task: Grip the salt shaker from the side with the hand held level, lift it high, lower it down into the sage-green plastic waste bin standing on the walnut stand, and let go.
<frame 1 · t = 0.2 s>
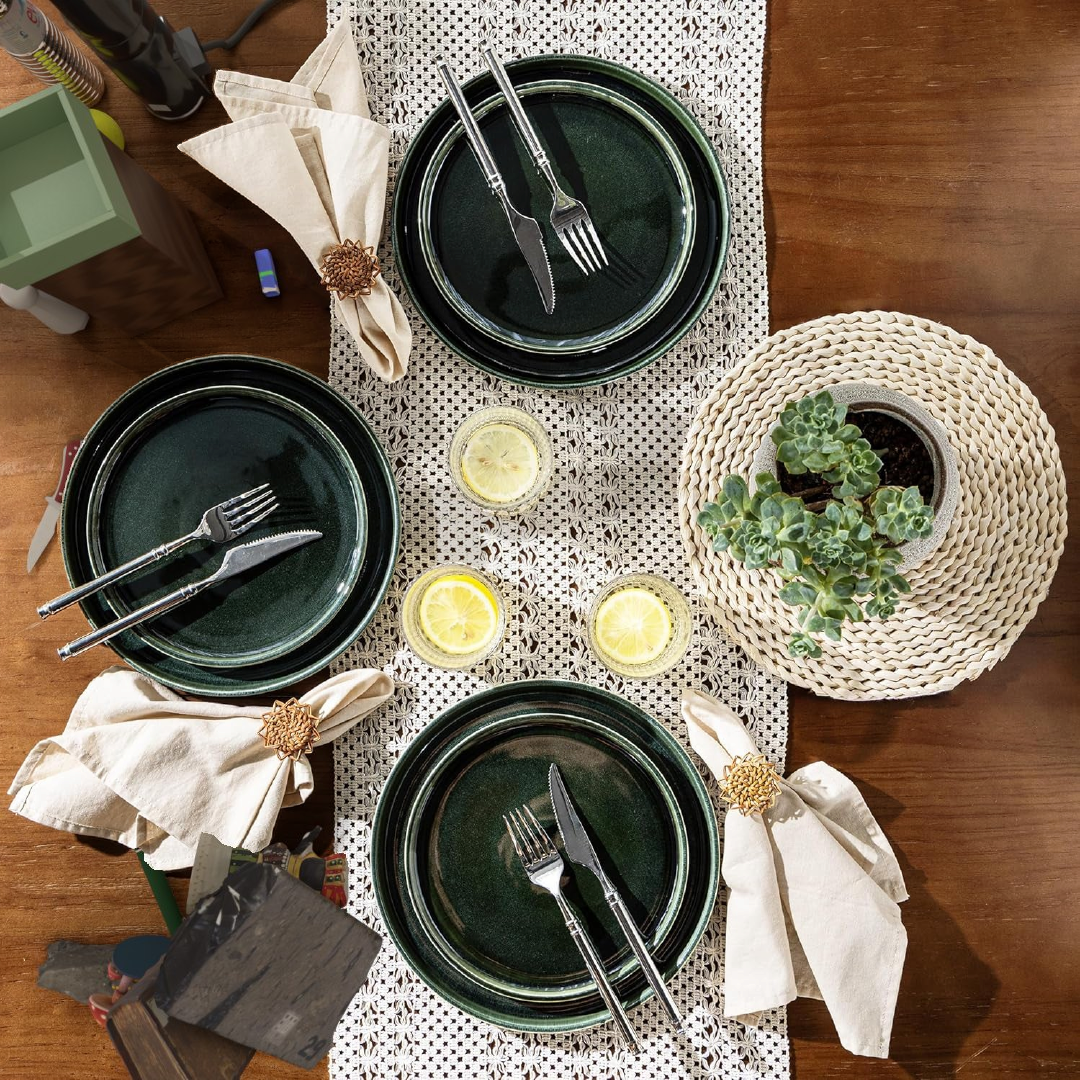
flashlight: (140, 840, 113), point 1 cm above the table, touching figurine 2
eraser: (258, 275, 113), point 1 cm above the table
bin stand: (161, 271, 114), on the table
water bottle: (84, 88, 115), on the table
open bin: (53, 199, 90), resting on bin stand
stone slab: (206, 914, 91), point 22 cm above the table, touching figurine
ornament: (110, 151, 115), on the table
knife: (41, 501, 114), point 1 cm above the table
book: (247, 954, 113), on the table
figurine: (192, 877, 106), point 8 cm above the table, touching stone slab
figurine 2: (151, 954, 106), point 8 cm above the table, touching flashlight, stone
stone: (112, 980, 115), on the table, touching figurine 2
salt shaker: (76, 318, 115), on the table
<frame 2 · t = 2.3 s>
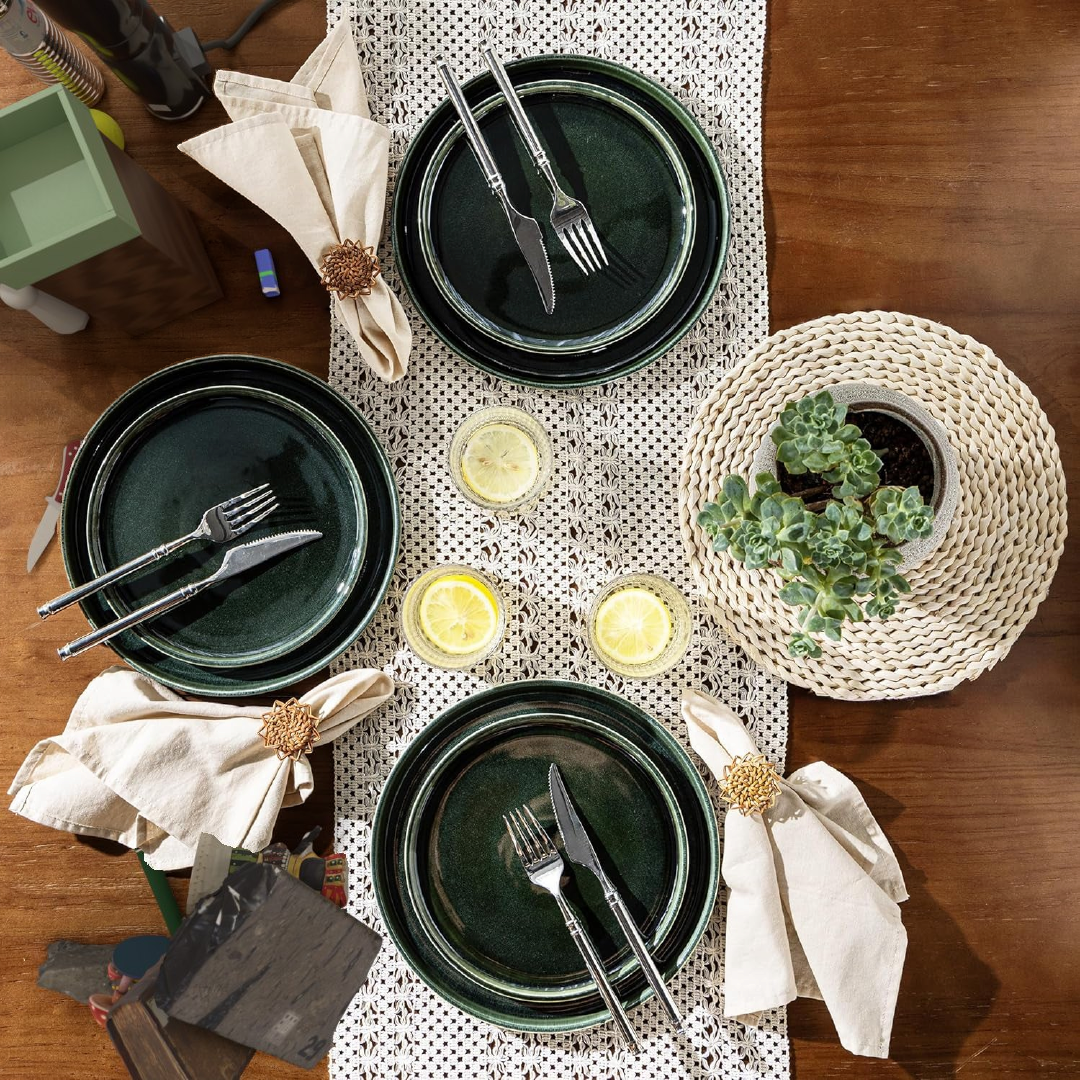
nothing on the table moved.
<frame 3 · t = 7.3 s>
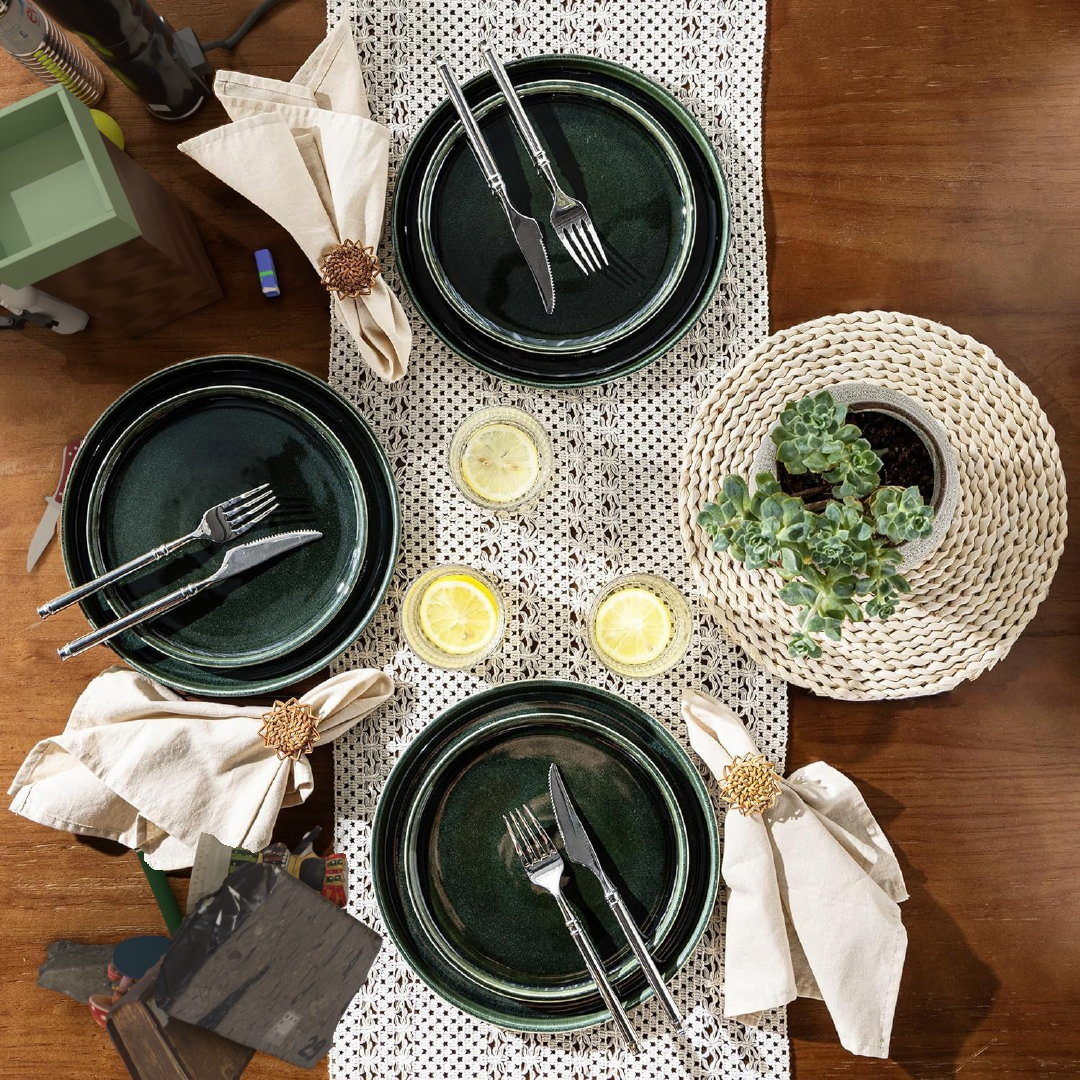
hand: (59, 310, 107), 8 cm above the table, tool horizontal, fingers closed on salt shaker, 3 cm apart
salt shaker: (76, 318, 115), on the table, touching gripper
everything else where it was.
when the fingers open (32 cm above the table, at t = 17.9 s): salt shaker stays where it is, resting on open bin.
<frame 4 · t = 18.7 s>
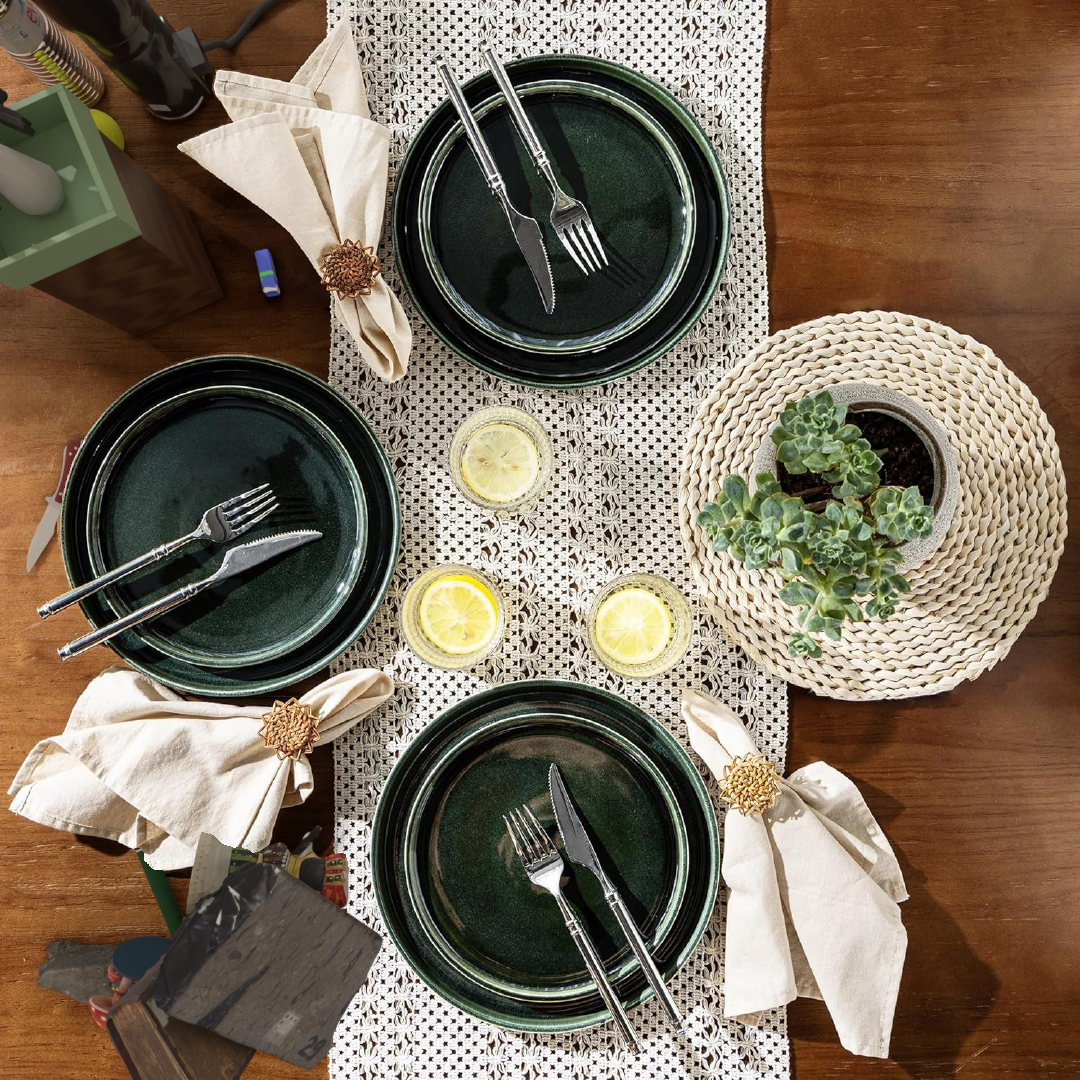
hand: (12, 168, 81), 33 cm above the table, tool horizontal, fingers open, 8 cm apart
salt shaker: (49, 197, 90), point 24 cm above the table, touching open bin
everything else where it was.
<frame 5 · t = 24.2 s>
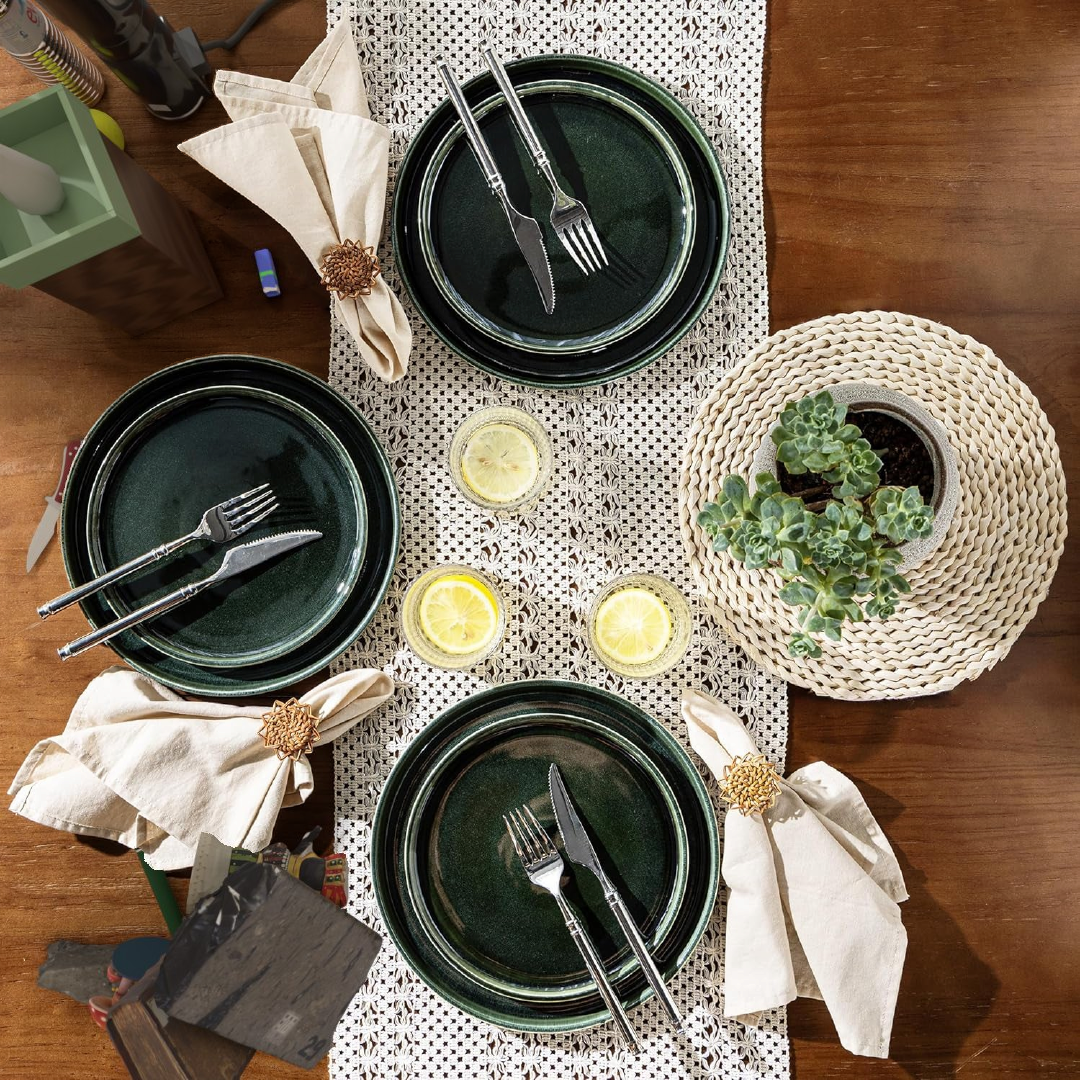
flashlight: (141, 840, 113), point 1 cm above the table, touching book, figurine 2
book: (247, 954, 113), on the table, touching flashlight
everything else where it was.
at the end: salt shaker inside the target area on the open bin (0.1 cm from its centre), point 0.4 cm above the open bin's base; the gripper is holding nothing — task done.
